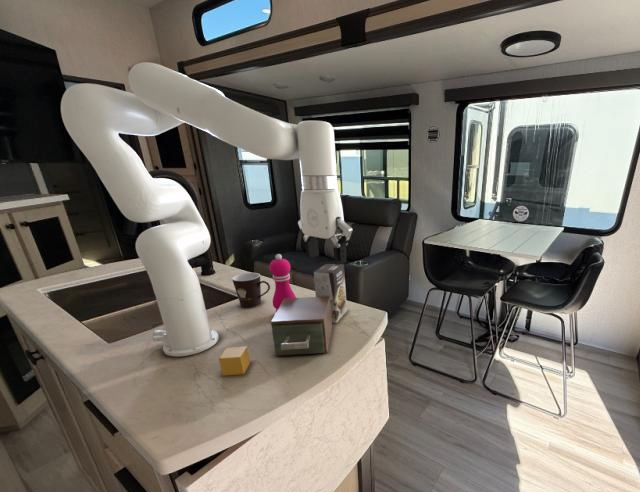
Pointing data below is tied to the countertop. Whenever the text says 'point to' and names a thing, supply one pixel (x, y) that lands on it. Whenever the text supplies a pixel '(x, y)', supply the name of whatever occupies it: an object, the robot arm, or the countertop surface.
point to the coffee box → (332, 288)
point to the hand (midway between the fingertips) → (326, 259)
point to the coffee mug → (248, 289)
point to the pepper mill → (281, 280)
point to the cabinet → (305, 315)
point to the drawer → (298, 338)
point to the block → (234, 361)
